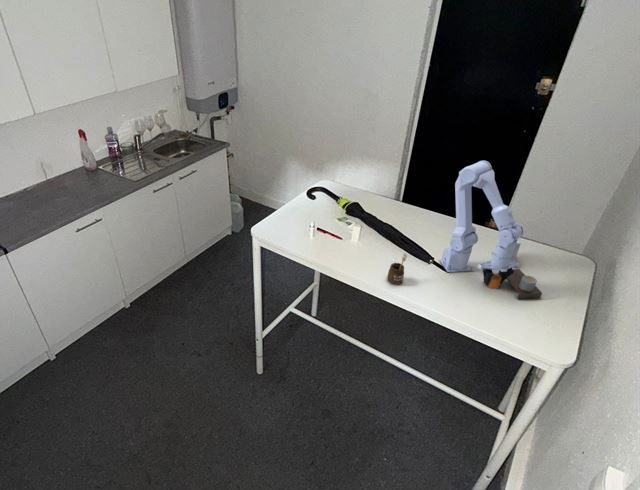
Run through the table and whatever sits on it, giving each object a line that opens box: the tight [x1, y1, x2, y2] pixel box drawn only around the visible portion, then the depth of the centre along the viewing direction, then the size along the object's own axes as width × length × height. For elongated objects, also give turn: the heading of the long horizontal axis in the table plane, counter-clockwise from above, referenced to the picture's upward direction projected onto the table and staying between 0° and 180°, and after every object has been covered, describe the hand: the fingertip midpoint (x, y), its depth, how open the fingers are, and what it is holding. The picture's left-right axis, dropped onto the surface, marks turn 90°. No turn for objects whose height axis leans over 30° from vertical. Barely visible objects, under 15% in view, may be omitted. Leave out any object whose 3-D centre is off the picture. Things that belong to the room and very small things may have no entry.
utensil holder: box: [387, 252, 408, 285], centre depth 159 cm, size 6×6×12 cm
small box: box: [493, 238, 522, 262], centre depth 167 cm, size 8×6×10 cm
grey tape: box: [519, 275, 538, 292], centre depth 150 cm, size 5×5×4 cm
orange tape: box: [486, 272, 502, 289], centre depth 156 cm, size 5×5×4 cm
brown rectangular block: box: [497, 268, 543, 300], centre depth 155 cm, size 8×15×3 cm, turn 2°
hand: (492, 283), depth 157 cm, fingers closed on orange tape, 5 cm apart
